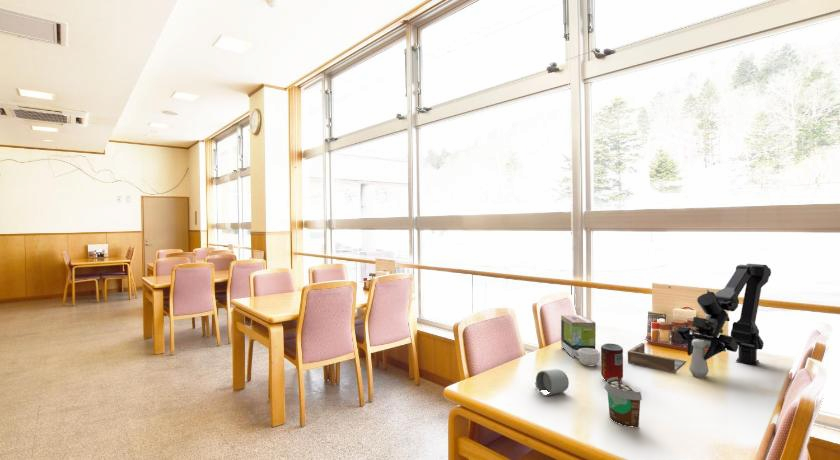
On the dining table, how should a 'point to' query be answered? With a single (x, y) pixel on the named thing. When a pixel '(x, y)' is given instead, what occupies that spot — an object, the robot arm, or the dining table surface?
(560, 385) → the ceramic mug
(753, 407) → the dining table surface
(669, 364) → the corner tray
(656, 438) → the dining table surface
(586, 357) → the teacup
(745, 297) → the robot arm
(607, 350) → the soda can
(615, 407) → the food container
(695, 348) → the salt shaker
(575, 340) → the tea box
